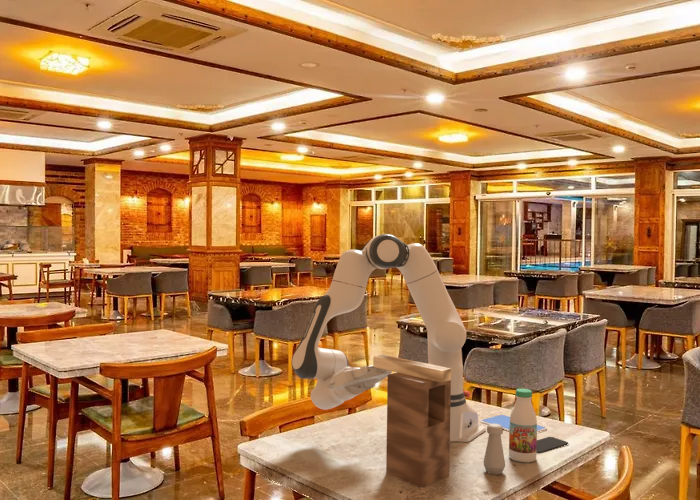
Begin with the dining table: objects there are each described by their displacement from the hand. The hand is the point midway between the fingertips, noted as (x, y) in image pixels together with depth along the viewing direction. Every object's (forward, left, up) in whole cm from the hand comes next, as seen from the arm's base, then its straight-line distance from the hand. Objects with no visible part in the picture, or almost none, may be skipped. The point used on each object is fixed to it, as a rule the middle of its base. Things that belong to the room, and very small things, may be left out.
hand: (379, 365), depth 176 cm
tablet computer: (-57, +10, -28) cm, 64 cm away
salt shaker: (-17, +28, -27) cm, 42 cm away
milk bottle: (-32, +28, -27) cm, 50 cm away
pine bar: (0, +12, 0) cm, 12 cm away
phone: (-47, +27, -28) cm, 61 cm away
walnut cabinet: (0, +15, -27) cm, 31 cm away
